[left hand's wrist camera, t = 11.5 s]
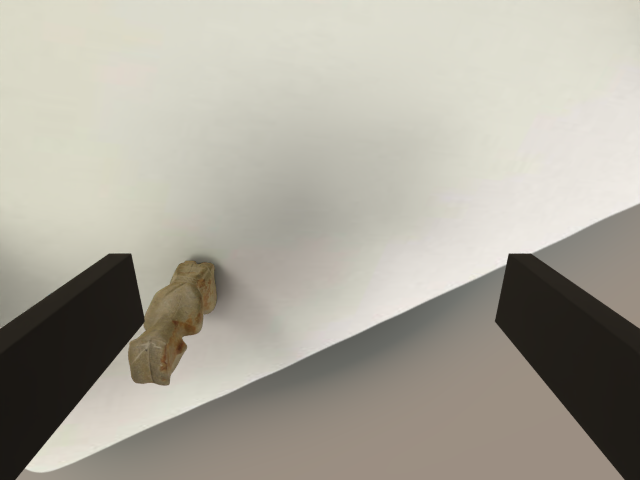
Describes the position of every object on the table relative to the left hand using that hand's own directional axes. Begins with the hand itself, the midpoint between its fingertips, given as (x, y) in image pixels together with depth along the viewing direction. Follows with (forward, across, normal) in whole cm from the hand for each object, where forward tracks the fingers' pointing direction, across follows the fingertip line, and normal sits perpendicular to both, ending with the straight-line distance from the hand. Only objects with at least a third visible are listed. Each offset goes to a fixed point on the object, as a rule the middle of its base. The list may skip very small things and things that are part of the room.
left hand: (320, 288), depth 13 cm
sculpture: (+29, +15, +14) cm, 36 cm away
